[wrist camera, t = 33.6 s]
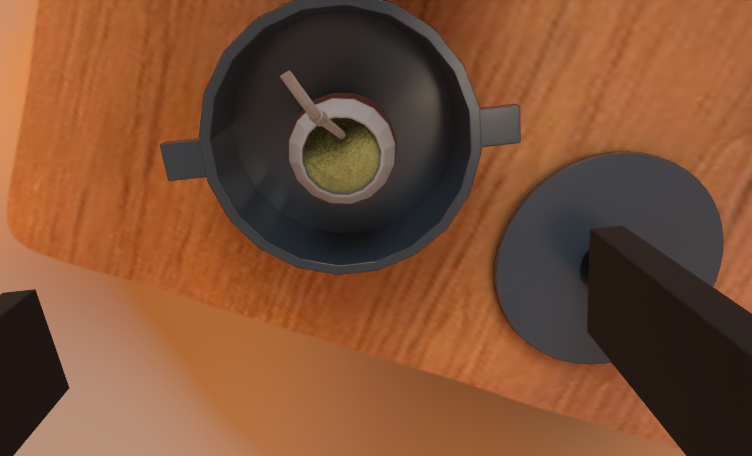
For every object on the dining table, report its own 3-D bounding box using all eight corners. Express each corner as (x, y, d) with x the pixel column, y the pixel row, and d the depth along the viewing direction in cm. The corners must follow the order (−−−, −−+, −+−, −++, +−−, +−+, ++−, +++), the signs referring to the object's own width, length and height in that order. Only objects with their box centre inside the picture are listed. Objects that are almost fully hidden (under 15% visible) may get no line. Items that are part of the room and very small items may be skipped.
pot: (165, 20, 37) (123, 16, 30) (492, -15, 37) (522, -28, 30) (215, 253, 43) (190, 291, 36) (499, 222, 43) (525, 254, 36)
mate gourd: (367, 196, 41) (374, 276, 27) (271, 153, 40) (224, 214, 26) (410, 106, 39) (441, 141, 25) (310, 58, 38) (282, 67, 24)
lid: (488, 163, 41) (526, 197, 32) (726, 137, 41) (832, 164, 32) (495, 367, 47) (529, 445, 38) (702, 344, 47) (786, 417, 38)
